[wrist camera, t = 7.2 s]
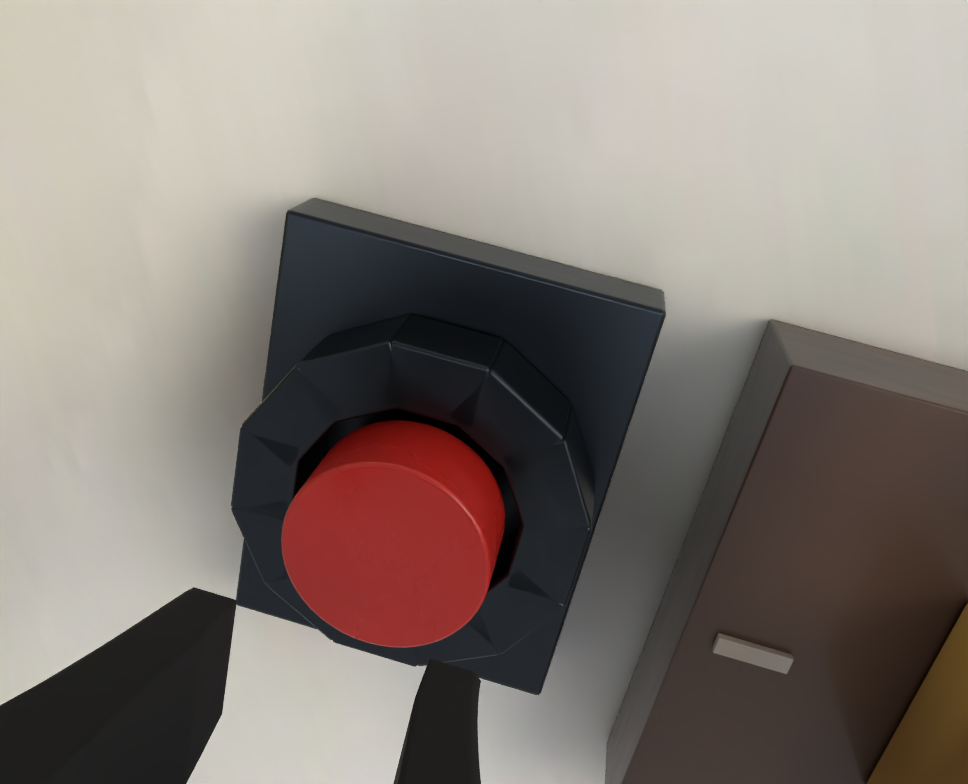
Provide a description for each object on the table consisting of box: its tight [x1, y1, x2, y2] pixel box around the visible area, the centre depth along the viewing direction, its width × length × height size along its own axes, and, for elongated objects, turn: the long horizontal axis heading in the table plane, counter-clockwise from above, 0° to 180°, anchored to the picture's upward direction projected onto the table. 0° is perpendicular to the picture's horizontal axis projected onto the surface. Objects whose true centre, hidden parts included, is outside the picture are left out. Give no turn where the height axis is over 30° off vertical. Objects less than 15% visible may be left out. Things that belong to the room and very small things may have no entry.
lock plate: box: [605, 320, 968, 784], centre depth 17 cm, size 10×11×3 cm
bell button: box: [281, 420, 505, 648], centre depth 15 cm, size 4×4×2 cm
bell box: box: [231, 198, 666, 695], centre depth 17 cm, size 9×7×3 cm
